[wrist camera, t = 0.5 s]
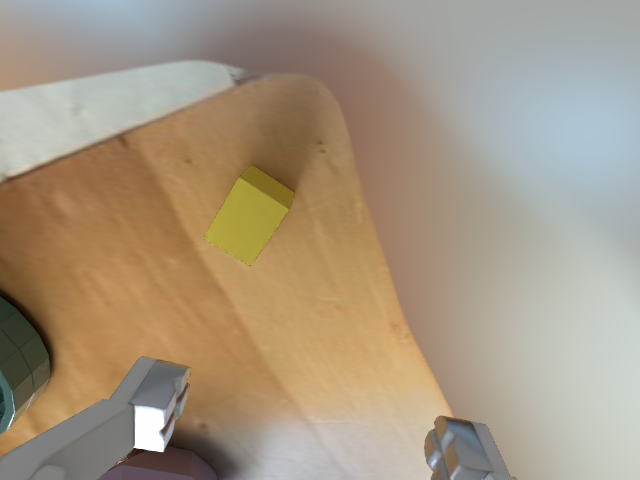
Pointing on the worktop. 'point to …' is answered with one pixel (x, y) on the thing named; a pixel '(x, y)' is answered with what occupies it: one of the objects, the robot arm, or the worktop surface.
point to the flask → (162, 466)
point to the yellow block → (249, 215)
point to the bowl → (19, 365)
